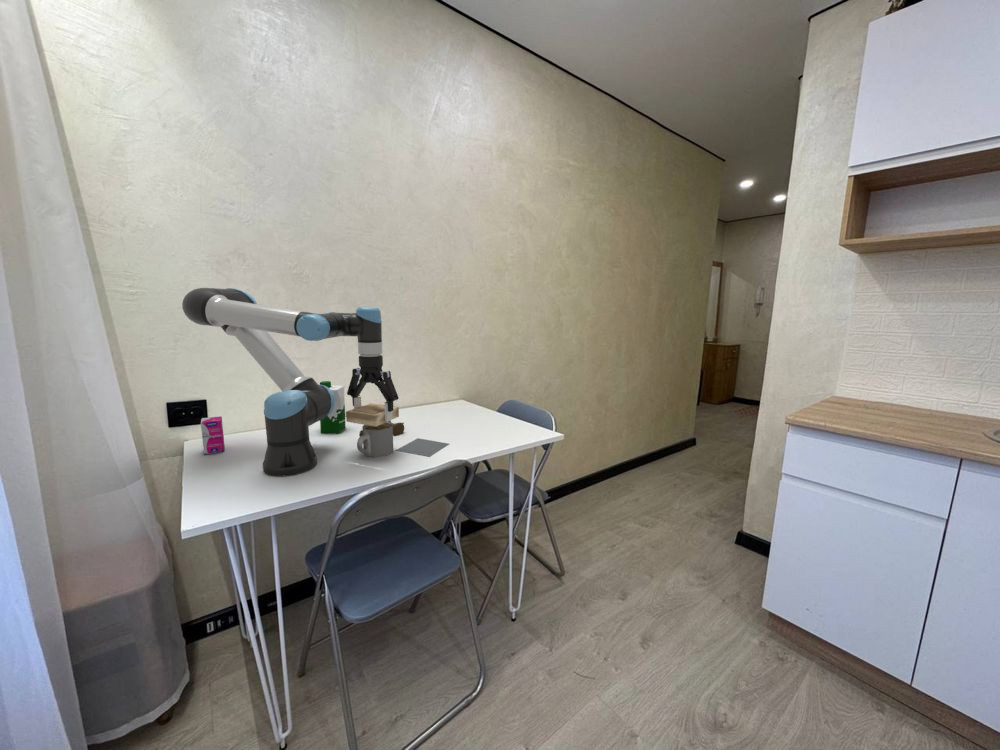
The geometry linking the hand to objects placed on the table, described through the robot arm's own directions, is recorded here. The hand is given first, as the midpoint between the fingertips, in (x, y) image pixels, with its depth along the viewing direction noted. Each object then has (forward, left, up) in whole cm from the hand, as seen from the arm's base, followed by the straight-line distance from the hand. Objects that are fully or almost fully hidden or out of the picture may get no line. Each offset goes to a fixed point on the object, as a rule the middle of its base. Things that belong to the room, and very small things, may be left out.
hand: (373, 418), depth 134 cm
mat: (+12, -12, -13) cm, 21 cm away
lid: (0, 0, 0) cm, 0 cm away
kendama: (+17, +9, -13) cm, 24 cm away
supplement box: (-21, +51, -13) cm, 57 cm away
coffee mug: (0, 0, -13) cm, 13 cm away
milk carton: (+13, +31, -13) cm, 36 cm away
